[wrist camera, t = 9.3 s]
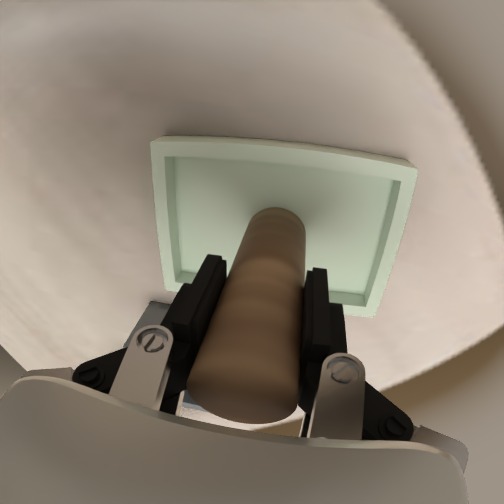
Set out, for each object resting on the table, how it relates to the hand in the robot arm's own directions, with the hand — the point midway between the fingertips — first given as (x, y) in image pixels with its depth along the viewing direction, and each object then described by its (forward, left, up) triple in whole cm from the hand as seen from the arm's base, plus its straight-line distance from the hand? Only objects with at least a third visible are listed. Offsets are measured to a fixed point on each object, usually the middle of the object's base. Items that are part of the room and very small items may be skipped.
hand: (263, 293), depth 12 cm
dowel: (0, 0, -5) cm, 5 cm away
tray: (0, 0, -7) cm, 7 cm away
